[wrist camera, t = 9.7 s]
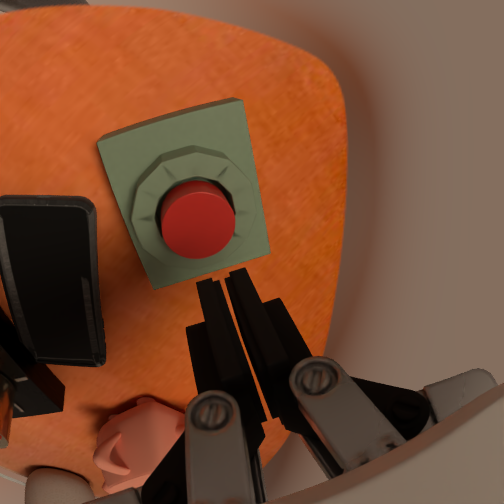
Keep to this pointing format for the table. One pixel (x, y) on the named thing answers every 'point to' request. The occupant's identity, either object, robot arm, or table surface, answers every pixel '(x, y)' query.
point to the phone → (53, 277)
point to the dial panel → (27, 376)
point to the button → (196, 220)
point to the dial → (6, 409)
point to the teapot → (136, 443)
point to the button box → (183, 170)
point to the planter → (56, 488)
